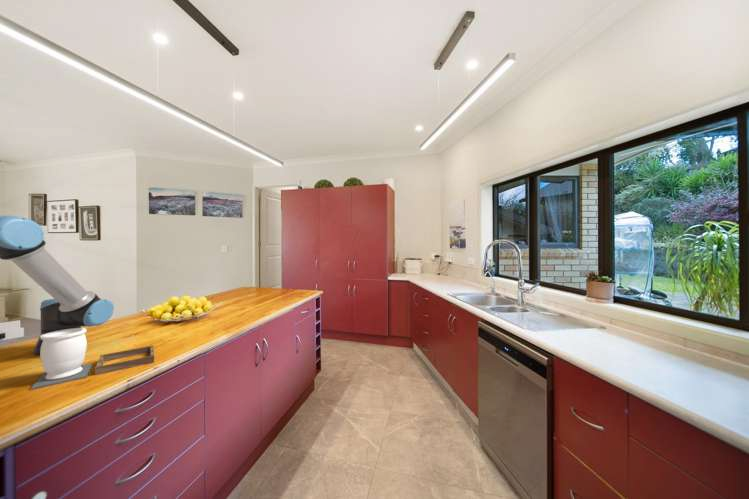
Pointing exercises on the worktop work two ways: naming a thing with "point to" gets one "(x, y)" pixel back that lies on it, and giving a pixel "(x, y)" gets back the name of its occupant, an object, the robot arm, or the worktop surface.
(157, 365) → the worktop surface
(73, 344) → the jar
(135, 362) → the brown rectangular frame
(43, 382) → the mat
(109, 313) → the robot arm
